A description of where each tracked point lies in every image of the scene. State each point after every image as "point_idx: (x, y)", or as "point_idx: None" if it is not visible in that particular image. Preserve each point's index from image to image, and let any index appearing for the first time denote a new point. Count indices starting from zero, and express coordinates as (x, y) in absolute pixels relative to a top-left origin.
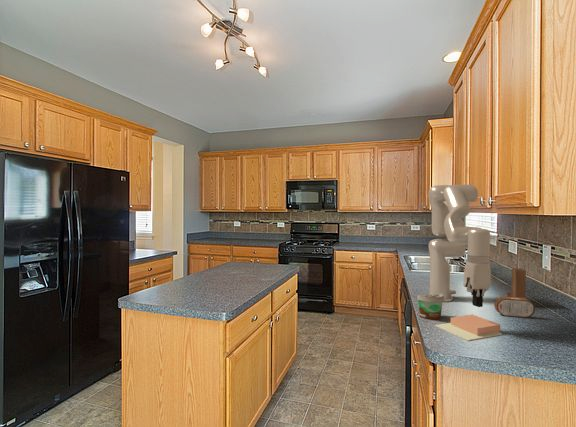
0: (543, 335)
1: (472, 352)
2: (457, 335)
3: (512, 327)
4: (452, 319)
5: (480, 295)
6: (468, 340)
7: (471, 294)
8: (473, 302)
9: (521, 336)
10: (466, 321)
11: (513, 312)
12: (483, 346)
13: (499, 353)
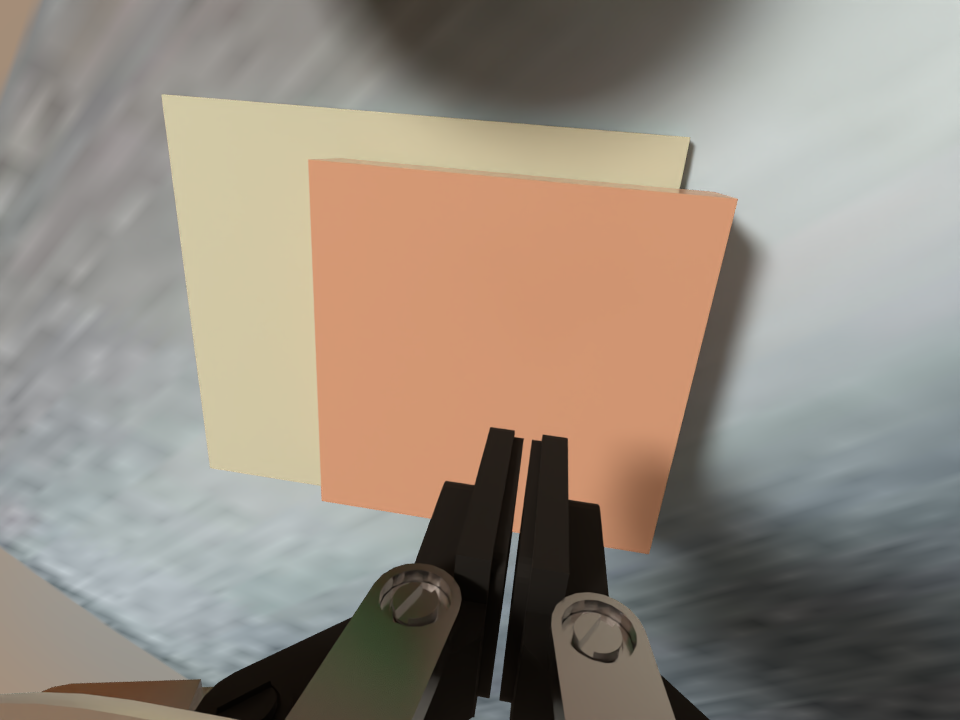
0: (919, 683)
1: (115, 559)
2: (200, 375)
3: (926, 491)
4: (316, 190)
5: (527, 714)
6: (215, 466)
7: (378, 580)
8: (443, 493)
9: (716, 609)
10: (384, 342)
11: None
12: (252, 552)
13: (263, 636)
